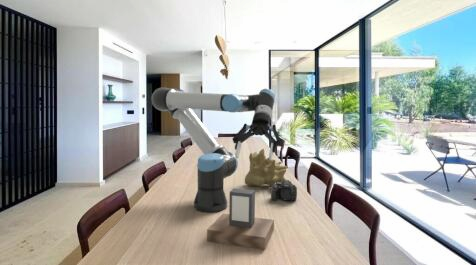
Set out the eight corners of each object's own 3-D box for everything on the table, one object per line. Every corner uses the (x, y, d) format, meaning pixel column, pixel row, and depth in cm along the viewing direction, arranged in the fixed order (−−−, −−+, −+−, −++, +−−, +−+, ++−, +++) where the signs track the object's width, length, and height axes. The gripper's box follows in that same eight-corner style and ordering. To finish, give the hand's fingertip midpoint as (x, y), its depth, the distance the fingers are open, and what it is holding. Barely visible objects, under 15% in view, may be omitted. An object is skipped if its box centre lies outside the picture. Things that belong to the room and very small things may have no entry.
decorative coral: (232, 161, 185) (265, 136, 182) (253, 186, 192) (285, 162, 189) (237, 181, 161) (275, 153, 158) (261, 208, 168) (298, 182, 165)
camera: (274, 203, 144) (275, 183, 143) (268, 197, 153) (268, 178, 153) (301, 202, 146) (301, 182, 146) (293, 196, 156) (294, 177, 155)
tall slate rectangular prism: (228, 225, 107) (229, 192, 106) (233, 220, 111) (233, 188, 110) (251, 228, 104) (251, 194, 103) (254, 223, 109) (255, 190, 108)
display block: (207, 240, 104) (207, 229, 103) (222, 223, 119) (222, 213, 118) (264, 249, 98) (265, 237, 97) (273, 230, 113) (274, 219, 113)
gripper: (233, 111, 134) (221, 149, 121) (290, 112, 127) (284, 153, 114) (236, 122, 139) (225, 160, 126) (291, 124, 132) (285, 164, 119)
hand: (253, 157), depth 120 cm, fingers open, 13 cm apart
